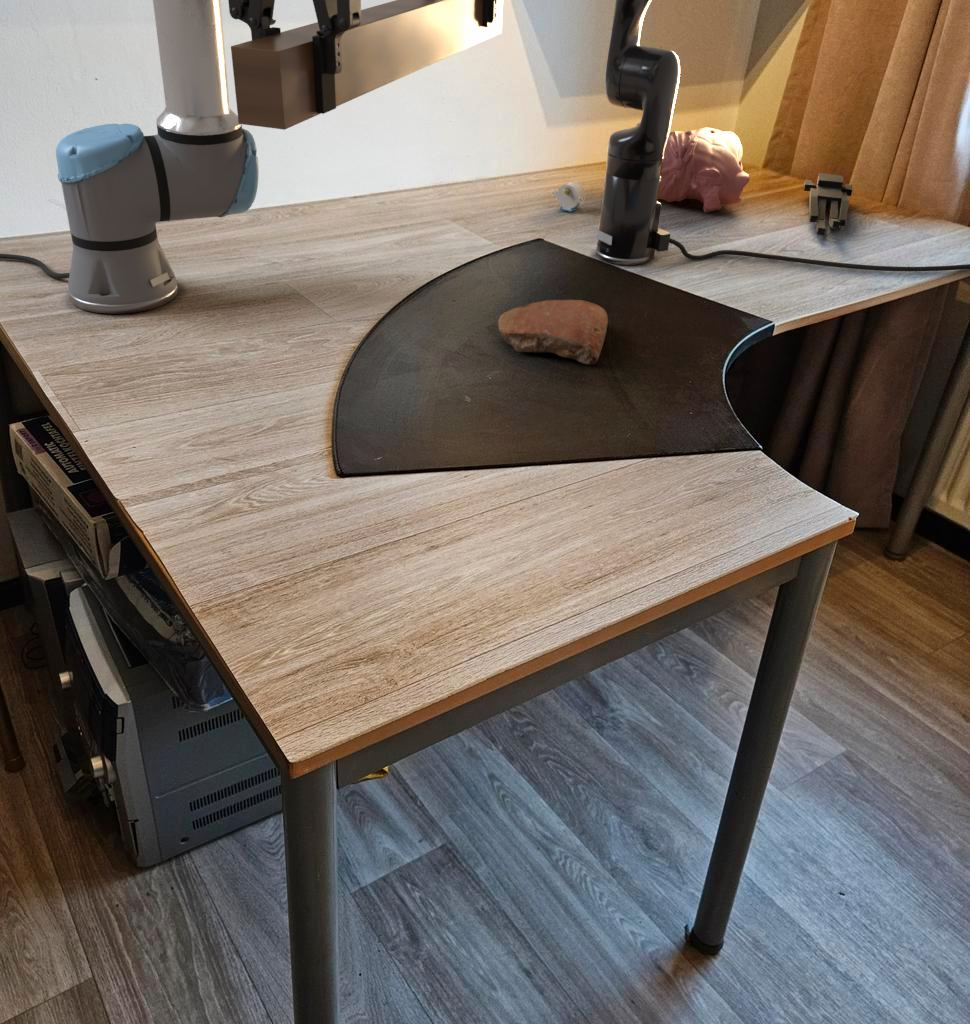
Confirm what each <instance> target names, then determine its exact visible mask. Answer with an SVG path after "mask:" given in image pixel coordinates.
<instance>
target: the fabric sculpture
mask: <svg viewBox="0 0 970 1024" xmlns="http://www.w3.org/2000/svg"><path fill="white" fill-rule="evenodd" d="M639 124H640V122H638V123H637V124H636V126H638V125H639ZM634 127H635V126H633V127H632V128H634ZM742 159H743V145H742V144H741V141H740V138H739V137H738V135H736V133H734V132H732V131H722V130H720V129H716V128H713V127H700V128H698V129H693V130H688V131H680V130H679V131H678V130H676V131H674V130H673V131H670V132H669V136H668V140H667V143H666V146H665V151H664V157H663V164H662V171H661V179H660V186H659V193H658V199H659V200H663V201H665V202H667V203H671V202H678V203H679V202H682V201H684V200H685V199H688V200H697V201H698V202H700V203H701V204H703V207H702V209H703V212H704V213H709V212H712V211H713V212H714V211H719V210H721V207H724V206H732V205H736V204H739V203H740V202H741V201H742V197H741V196H742V195H741V194H742V192H743V191H744V189H745V187H746V186H747V185H748V184H749V183H750V174H749V173H747V172H745V171H744V170H743V163H742Z"/></svg>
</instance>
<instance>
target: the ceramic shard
mask: <svg viewBox="0 0 970 1024" xmlns="http://www.w3.org/2000/svg"><path fill="white" fill-rule="evenodd" d="M497 323H498V331H499V334H500V335H501V337H502V339H503V341H505V342H506V343H507V345H510V346H512V348H513V349H514V351H515V352H518V353H551V354H555V355H556V356H558V357H561V358H566V359H572V360H574V361H577V362H579V363H582V364H583V365H594V364H596V363H597V362H598V360H599V358H600V355H601V352H602V349H603V347H604V342H605V339H606V335H607V328H608V323H609V318H608V313H607V311H606V310H605V309H604V308H603V307H601V306H600V305H599V304H596V303H593V302H590V301H587V300H584V299H546V300H542V301H536V302H531V303H528V304H527V305H520V306H518V307H514V308H512V309H509V310H508V311H504V312H503V313H501V315H500V316H499V319H498V321H497Z"/></svg>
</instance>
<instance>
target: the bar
mask: <svg viewBox="0 0 970 1024" xmlns="http://www.w3.org/2000/svg"><path fill="white" fill-rule="evenodd" d="M503 8H504V0H497V18H496V21H495V22H493V23H492V26H491V27H483V0H392V1H389V2H385V3H381V4H377V5H374V6H370V7H367V8H364V9H361V24H360V26H358V27H356V28H353V29H350V30H347V31H345V32H344V33H343V35H342V63H343V67H342V70H341V72H340V73H338V74H335V94H336V108H337V107H339V106H341V105H343V104H345V103H348V102H350V101H353V100H354V99H357V98H359V97H361V96H364V95H366V94H369V93H370V92H373V91H374V90H377V89H379V88H382V87H384V86H386V85H388V84H390V83H392V82H395V81H397V80H399V79H402V78H404V77H407V76H409V75H410V74H413V73H415V72H418V71H420V70H422V69H424V68H427V67H429V66H431V65H433V64H435V63H438V62H440V61H442V60H445V59H447V58H449V57H451V56H453V55H455V54H458V53H461V52H463V51H464V50H467V49H469V48H472V47H474V46H476V45H478V44H480V43H482V42H485V41H487V40H490V39H492V38H494V37H496V36H498V35H501V34H502V33H503V30H502V29H503V12H504V11H503V10H504V9H503ZM316 31H320V29H319V25H318V21H317V22H313V23H309V24H306V25H302V26H299V27H295V28H291V29H287V30H284V31H281V32H280V33H277V34H273V35H270V36H266V37H262V38H259V39H255V40H252V39H251V40H249V41H245V42H241V43H238V44H234V45H231V46H230V51H231V63H232V72H233V82H234V93H235V101H236V113H237V116H238V122H239V124H242V125H243V126H244V125H246V126H253V127H262V128H267V129H277V130H283V131H285V130H287V129H289V128H291V127H294V126H296V125H298V124H300V123H303V122H305V121H307V120H309V119H312V118H314V117H316V116H319V115H321V114H322V113H316V98H315V80H314V61H313V41H312V36H316V35H317V33H316Z"/></svg>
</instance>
